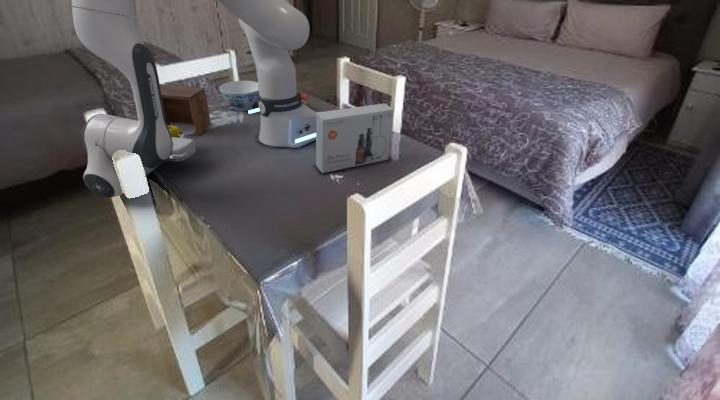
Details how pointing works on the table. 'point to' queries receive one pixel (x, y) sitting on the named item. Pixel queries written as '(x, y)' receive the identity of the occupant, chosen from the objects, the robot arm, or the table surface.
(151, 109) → the robot arm
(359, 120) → the skincare box
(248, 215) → the table surface
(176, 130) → the yellow lemon
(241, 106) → the chinaware
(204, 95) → the cabinet
